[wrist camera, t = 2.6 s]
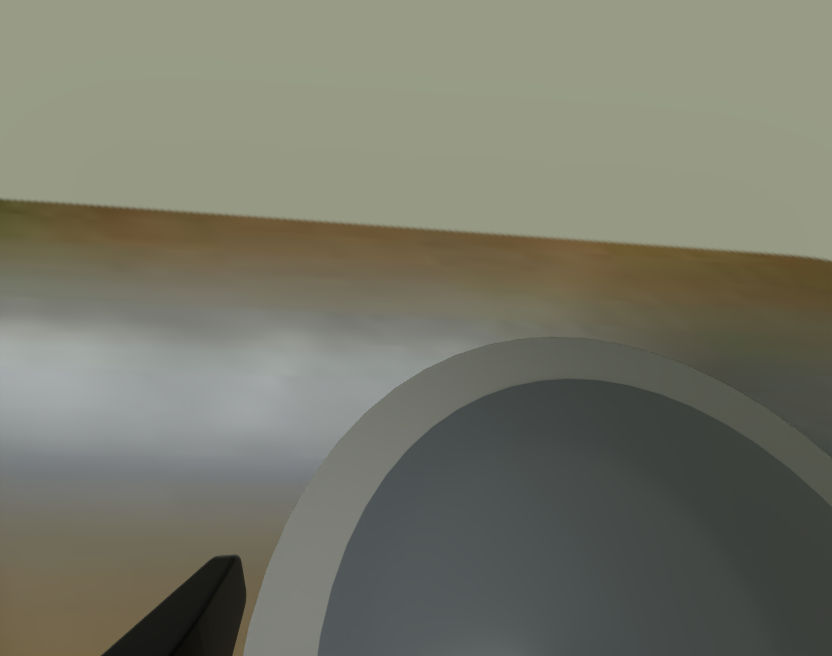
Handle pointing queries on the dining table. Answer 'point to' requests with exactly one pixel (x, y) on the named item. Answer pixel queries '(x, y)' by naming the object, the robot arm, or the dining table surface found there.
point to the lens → (557, 518)
